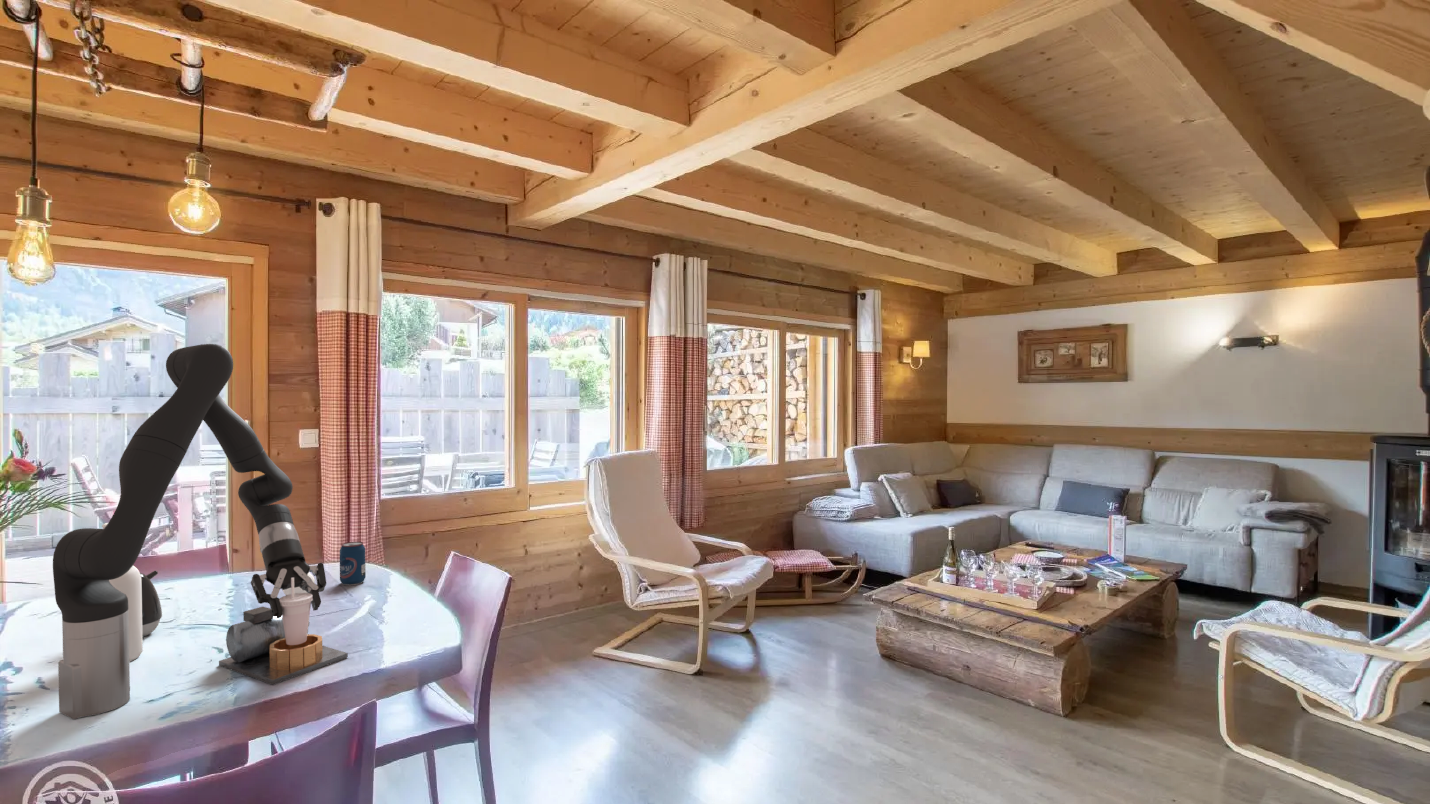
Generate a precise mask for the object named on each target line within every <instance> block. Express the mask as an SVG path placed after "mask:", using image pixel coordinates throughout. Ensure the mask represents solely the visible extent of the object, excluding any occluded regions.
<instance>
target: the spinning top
mask: <svg viewBox="0 0 1430 804" xmlns="http://www.w3.org/2000/svg"><path fill="white" fill-rule="evenodd" d="M307 575H308V576H309V577H310V578H311V579H312V581H313V582H314V583H315V581H316V580H315V576H314V575H313V574H312V572H309V573H308V574H307ZM303 582H304V581H303ZM282 592H283V594H284V596H286V595H290V594H291V588H288V589H285V590H282ZM295 593H307V592H306V591H305V590H302V589H301V588H300V587H295V588H294V594H295Z"/></svg>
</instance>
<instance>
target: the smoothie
mask: <svg viewBox="0 0 1430 804" xmlns="http://www.w3.org/2000/svg"><path fill="white" fill-rule="evenodd" d="M279 600H280V604H281V608H282V620H283V626H284V632H285V637H286V643H287V645H297V644H301V643H304V642H306V640H307V632H308V633H309V627H308V624H309V625H310V614H311V607H312V604H311V601H312V600H313V595H312V594H310V593H295V594H294V578H291V594H290V595H284V596H281V597H280V598H279Z"/></svg>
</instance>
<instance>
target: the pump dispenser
mask: <svg viewBox="0 0 1430 804" xmlns="http://www.w3.org/2000/svg"><path fill="white" fill-rule="evenodd" d="M158 574H159V572H158V571H157V570H153V571H152V572H150V573H148V574H145V573H142V572H140V575H141V583H142V638H144V637H146V636H148V635H150V634H151V633H153V632H154V631H155V630H156V629H157V627H158V626H159V623H160V621H161V619H162V617H163V612H162V605H161V601H160V597H159V595H158V592H157V590H156V588H155V585H154V583H153V582H152V580H151V579H153V578H154V577H156V576H157V575H158Z"/></svg>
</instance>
